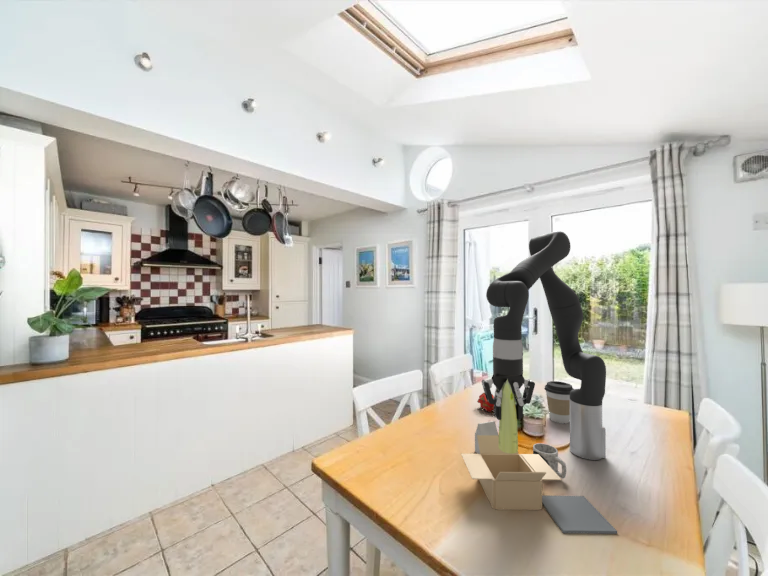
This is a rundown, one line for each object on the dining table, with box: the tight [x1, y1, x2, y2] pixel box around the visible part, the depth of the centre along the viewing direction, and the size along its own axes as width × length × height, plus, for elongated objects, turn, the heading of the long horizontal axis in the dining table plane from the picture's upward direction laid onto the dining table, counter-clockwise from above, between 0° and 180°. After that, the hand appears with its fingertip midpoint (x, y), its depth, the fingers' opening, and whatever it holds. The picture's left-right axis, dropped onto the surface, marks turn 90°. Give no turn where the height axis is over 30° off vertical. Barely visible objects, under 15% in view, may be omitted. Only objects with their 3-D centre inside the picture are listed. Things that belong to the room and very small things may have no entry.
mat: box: [542, 494, 618, 535], centre depth 76 cm, size 12×12×1 cm
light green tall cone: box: [498, 379, 519, 454], centre depth 84 cm, size 6×5×20 cm
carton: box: [460, 435, 563, 511], centre depth 84 cm, size 22×19×11 cm
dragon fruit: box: [476, 392, 501, 414], centre depth 142 cm, size 8×8×12 cm
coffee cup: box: [543, 380, 574, 424], centre depth 132 cm, size 11×11×15 cm
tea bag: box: [474, 420, 499, 454], centre depth 105 cm, size 4×7×10 cm, turn 110°
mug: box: [532, 442, 567, 479], centre depth 93 cm, size 10×7×7 cm, turn 23°
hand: (508, 418), depth 84 cm, fingers closed on light green tall cone, 4 cm apart
